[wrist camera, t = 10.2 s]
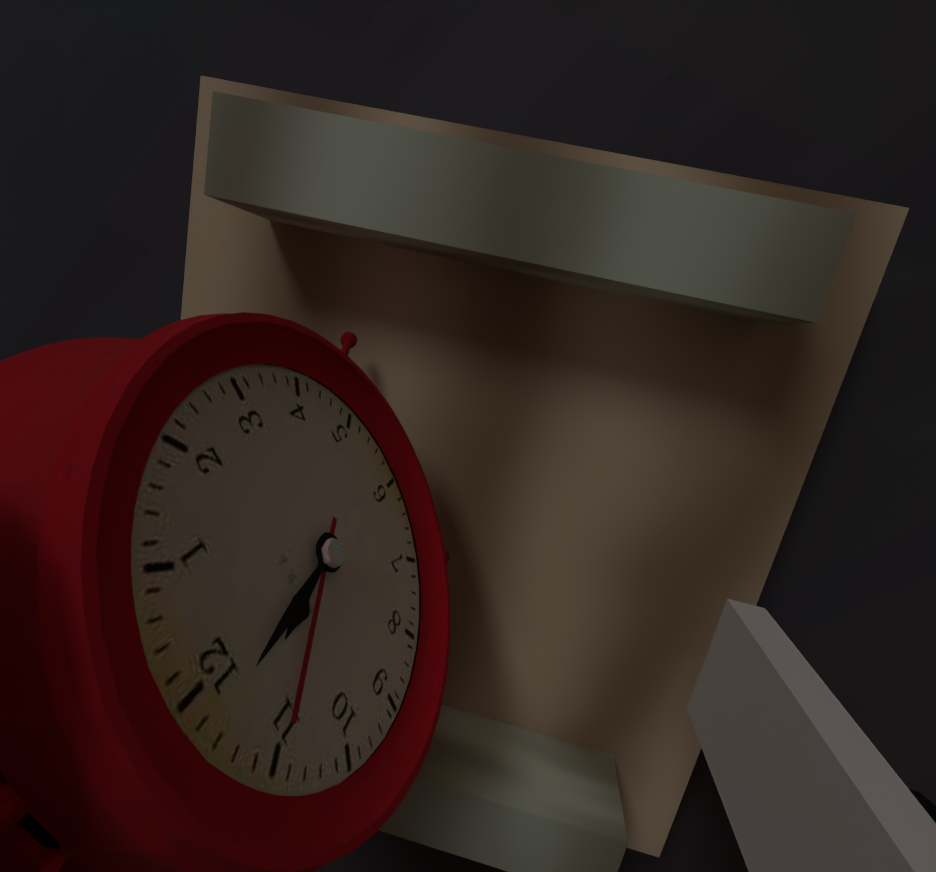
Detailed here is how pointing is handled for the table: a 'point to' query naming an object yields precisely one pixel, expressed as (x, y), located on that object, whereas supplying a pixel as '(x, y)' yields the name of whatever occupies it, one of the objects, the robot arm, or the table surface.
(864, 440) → the table surface
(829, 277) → the display stand
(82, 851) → the alarm clock
